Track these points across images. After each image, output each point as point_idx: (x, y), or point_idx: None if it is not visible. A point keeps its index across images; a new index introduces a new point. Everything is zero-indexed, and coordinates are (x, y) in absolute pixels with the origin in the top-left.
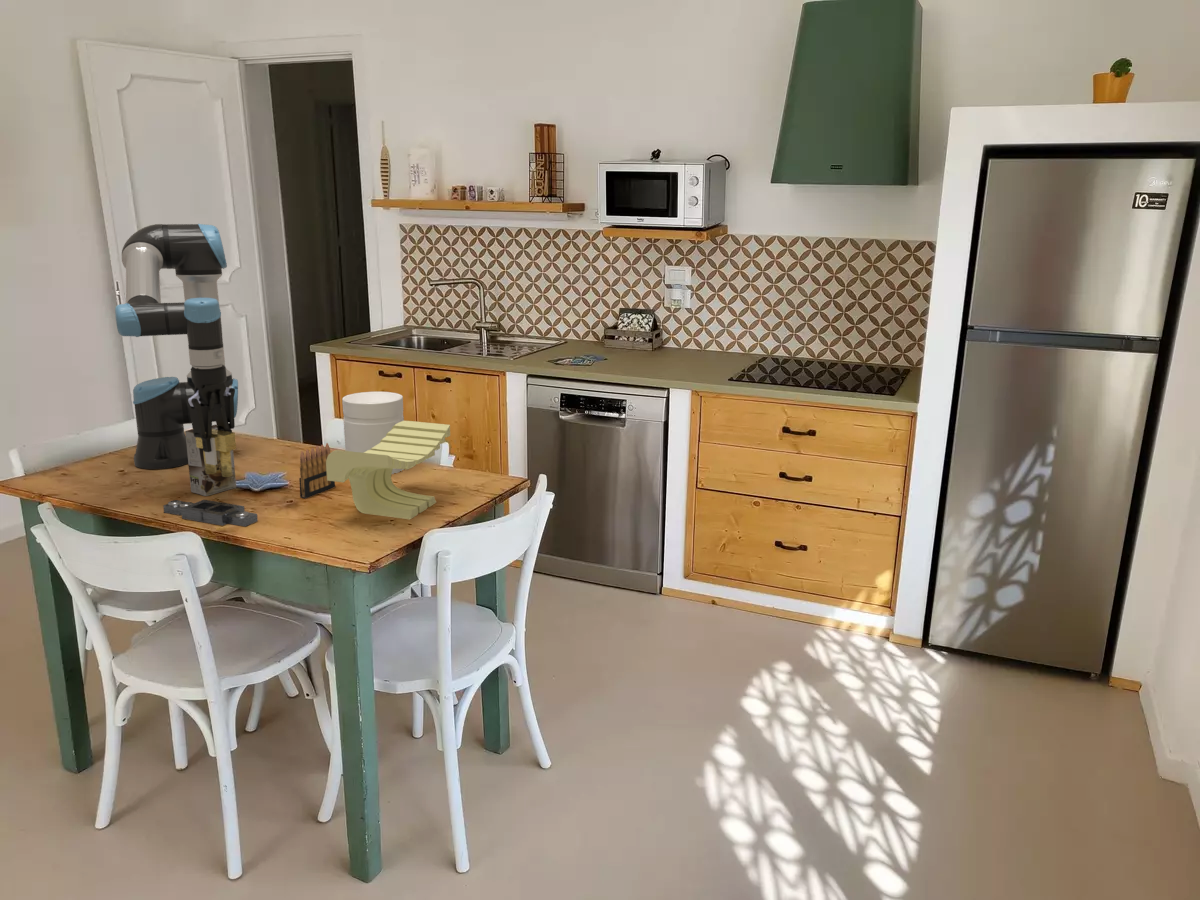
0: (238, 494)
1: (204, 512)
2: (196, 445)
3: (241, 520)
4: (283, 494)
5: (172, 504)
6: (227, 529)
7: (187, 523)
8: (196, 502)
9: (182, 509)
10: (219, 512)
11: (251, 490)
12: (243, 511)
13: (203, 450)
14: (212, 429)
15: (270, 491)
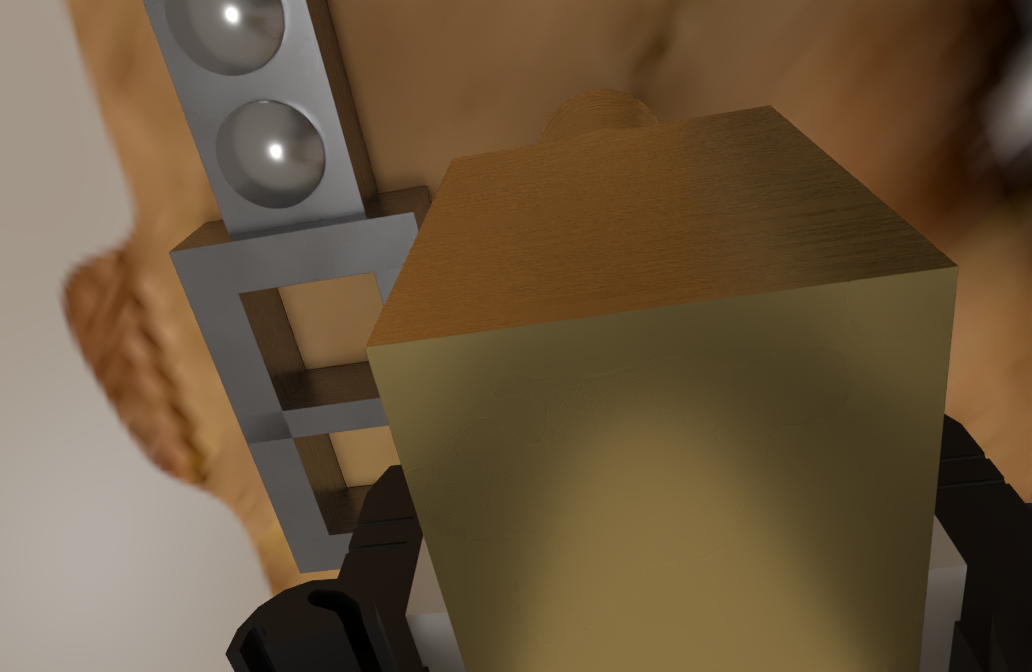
0: (851, 78)
1: (252, 454)
2: (447, 171)
3: None
4: (987, 376)
5: (185, 50)
6: (304, 578)
7: (188, 332)
8: (328, 229)
9: (177, 263)
10: (318, 528)
11: (997, 79)
12: None
13: (376, 486)
14: (903, 599)
15: (1025, 241)
